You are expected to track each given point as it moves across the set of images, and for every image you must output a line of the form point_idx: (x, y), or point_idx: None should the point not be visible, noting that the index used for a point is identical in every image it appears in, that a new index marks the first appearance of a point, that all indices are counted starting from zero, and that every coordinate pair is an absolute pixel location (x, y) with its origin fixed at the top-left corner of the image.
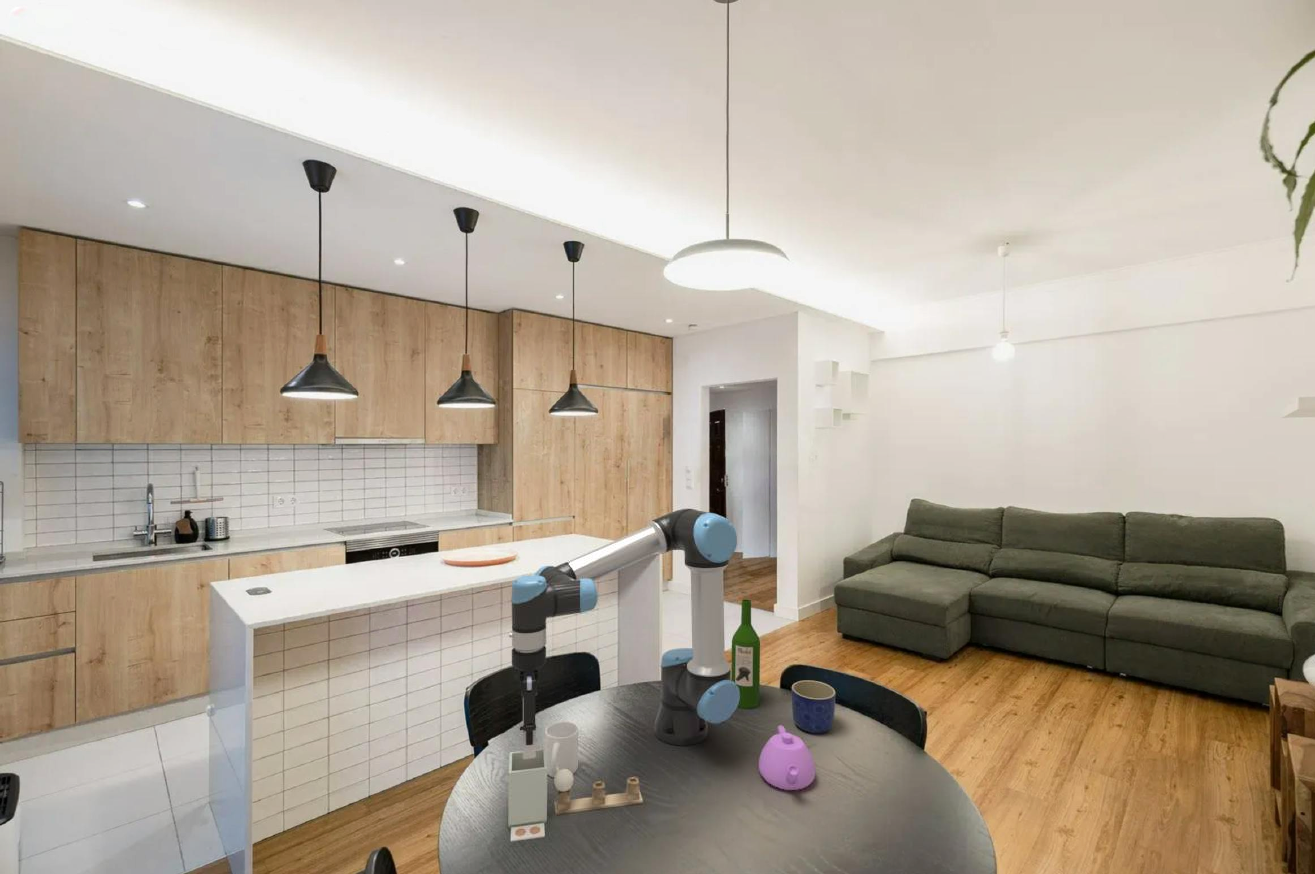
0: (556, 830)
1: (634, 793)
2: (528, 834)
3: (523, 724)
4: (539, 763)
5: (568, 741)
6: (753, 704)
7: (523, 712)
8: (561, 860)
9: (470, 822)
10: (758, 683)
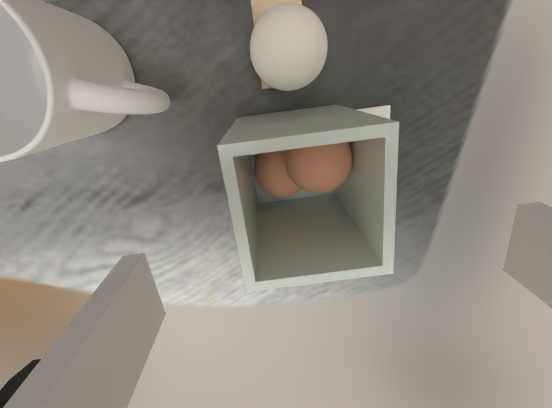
0: (370, 74)
1: None
2: None
3: (159, 322)
4: (240, 159)
5: (44, 31)
6: None
7: (127, 402)
8: (483, 52)
9: None
10: None
